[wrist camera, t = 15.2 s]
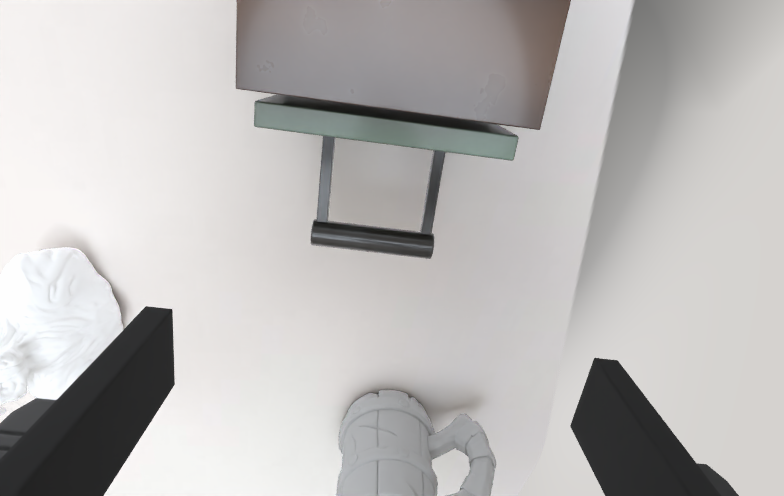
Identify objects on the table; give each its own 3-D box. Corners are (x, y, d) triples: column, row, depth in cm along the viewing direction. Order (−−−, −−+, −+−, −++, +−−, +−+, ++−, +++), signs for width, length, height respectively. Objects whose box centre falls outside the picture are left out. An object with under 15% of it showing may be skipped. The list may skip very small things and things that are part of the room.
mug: (328, 397, 39) (306, 531, 28) (470, 365, 38) (506, 491, 27) (354, 466, 42) (343, 614, 31) (488, 438, 41) (527, 580, 30)
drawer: (463, 235, 33) (485, 285, 26) (280, 213, 32) (249, 257, 25) (537, -139, 25) (599, -221, 18) (300, -180, 25) (264, -282, 17)
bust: (71, 223, 36) (-142, 280, 27) (119, 238, 31) (-119, 312, 23) (116, 359, 40) (-57, 443, 32) (163, 389, 36) (-23, 496, 27)
